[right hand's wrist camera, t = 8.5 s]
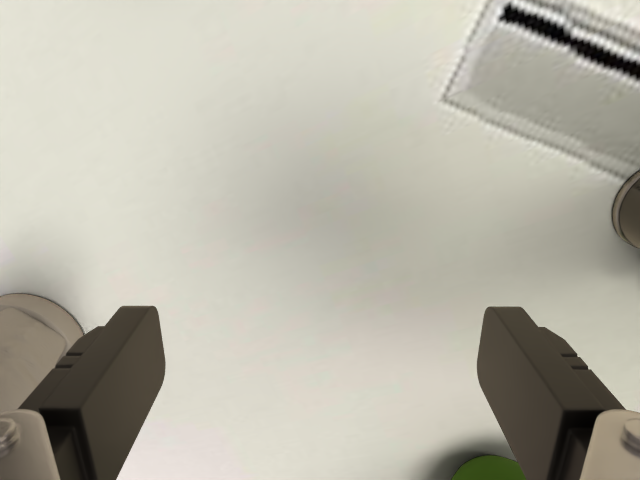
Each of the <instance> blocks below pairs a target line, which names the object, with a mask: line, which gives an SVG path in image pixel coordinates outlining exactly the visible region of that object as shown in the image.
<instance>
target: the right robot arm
mask: <svg viewBox="0 0 640 480" xmlns="http://www.w3.org/2000/svg"><path fill="white" fill-rule="evenodd" d="M613 224H614V227H615V229H616V231H617V233H618V234H619V236H620V237H621V238H622V239H623V240H624V241H626V242H627V243H629V244H631V245H632V246H634V247H636V248H639V249H640V171H639V172H637V173H636V174H635V175H633V176H632V177H631V178H630V179H629V180H628V181H627V182H626V183H625V185H624V186H623V187H622V189H621V190H620V192H619V194H618V196H617V198H616V200H615V203H614V207H613ZM477 374H478V380H479V383H480V386H481V389H482V391H483V393H484V395H485V397H486V399H487V401H488V403H489V405H490V407H491V409H492V411H493V413H494V415H495V417H496V419H497V421H498V423H499V425H500V427H501V429H502V431H503V433H504V435H505V437H506V439H507V441H508V443H509V445H510V447H511V449H512V451H513V453H514V455H515V457H516V459H517V461H518V463H519V466H520V468H521V470H522V472H523V474H524V476H525V478H526V480H640V413H638V412H634V411H630V410H626V409H625V408H624V407H623V406H622V405H621V403H620V402H619V401H618V400H617V399H616V398H615V397H614V395H613V394H612V393H611V392H610V391H609V390H608V389H607V388H606V386H605V385H604V384H603V383H602V382H601V381H600V380H599V378H598V377H597V376H596V375H595V374H594V373H593V372H592V370H588V366H587V365H586V364H585V362H584V361H583V360H582V359H581V358H580V357H577V353H576V352H575V351H574V350H573V349H572V348H571V347H570V345H569V344H568V343H567V342H566V341H565V340H564V339H563V338H561V337H559V336H558V335H556V334H555V333H553V332H552V331H550V330H548V329H547V328H545V327H538V326H537V325H536V324H535V323H534V321H533V320H532V319H531V318H530V316H529V315H528V314H527V313H526V312H525V310H524V309H523V308H521V307H488V308H487V309H486V311H485V314H484V319H483V325H482V332H481V339H480V345H479V352H478V359H477ZM164 375H165V355H164V348H163V342H162V335H161V328H160V321H159V315H158V311H157V309H156V307H154V306H122V307H120V308H119V309H118V311H117V312H116V313H115V314H114V315H113V317H112V318H111V319H110V320H109V322H108V323H107V324H106V325H105V326H98V327H96V328H95V329H93V330H91V331H90V332H88V333H87V334H85V335H84V336H82V337H80V338H79V339H78V340H77V341H76V342H75V343H74V345H73V346H72V347H71V348H70V349H69V350H68V351H67V353H66V356H63V357H62V358H61V359H60V361H59V362H58V363H57V364H56V365H55V368H53V369H52V370H51V371H50V372H49V373H48V374H47V376H46V377H45V378H44V379H43V380H42V381H41V382H40V384H39V385H38V386H37V387H36V388H35V389H34V390H33V392H32V393H31V394H30V395H29V396H28V397H27V399H26V400H25V401H24V402H23V403H22V404H21V405H20V407H19V408H18V409H17V410H10V411H6V412H2V413H0V480H116V479H117V477H118V475H119V473H120V470H121V468H122V466H123V464H124V462H125V460H126V458H127V456H128V454H129V452H130V450H131V448H132V446H133V444H134V442H135V440H136V438H137V436H138V434H139V431H140V429H141V427H142V425H143V423H144V421H145V419H146V417H147V415H148V413H149V411H150V409H151V407H152V405H153V403H154V401H155V399H156V397H157V395H158V393H159V390H160V388H161V386H162V384H163V380H164Z"/></svg>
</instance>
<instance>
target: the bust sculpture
mask: <svg viewBox="0 0 640 480" xmlns="http://www.w3.org/2000/svg"><path fill="white" fill-rule="evenodd" d="M82 336H84V335H83V333H82V331H81V329H80V327H79V325H78V324H77V323H76V321H75V320H74V319H73V318H72V317H71V316H70V315H69V314H68V313H67V312H66V311H65V310H63V309H62V308H61V307H59V306H58V305H56V304H54V303H52V302H51V301H48V300H46V299H44V298H41V297H38V296H34V295H28V294H9V295H4V296H0V413H2V412H6V411H10V410H17V409H18V408H19V407H20V405H21V404H22V403H23V402H24V401H25V400H26V399H27V397H28V396H29V395H30V394H31V393H32V392H33V390H34V389H35V388H36V387H37V386H38V385H39V384H40V382H41V381H42V380H43V379H44V378H45V377H46V376H47V374H48V373H49V372H50V371H51V370H52V369H53V368H55V365H56V364H57V363H58V362H59V361H60V359H61V358H62V357H63V356H66V353H67V351H68V350H69V349H70V348H71V347H72V346H73V345H74V343H75V342H76V341H77V340H78V339H79V338H80V337H82Z"/></svg>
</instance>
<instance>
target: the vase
mask: <svg viewBox="0 0 640 480" xmlns="http://www.w3.org/2000/svg"><path fill="white" fill-rule="evenodd" d="M451 480H526V478H525V476H524V474H523V472H522V470H521V468H520V466H519V463H518V462H516V461H513V460H511V459H507V458H504V457H500V456H495V455H486V456H480V457H476V458H474V459H471V460H469V461H467V462H466V463H464V464H463V465H462V466H461V467H460V468H459V469H458V470H457V472H456V473H455V474H454V476H453V477H452V479H451Z"/></svg>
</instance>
